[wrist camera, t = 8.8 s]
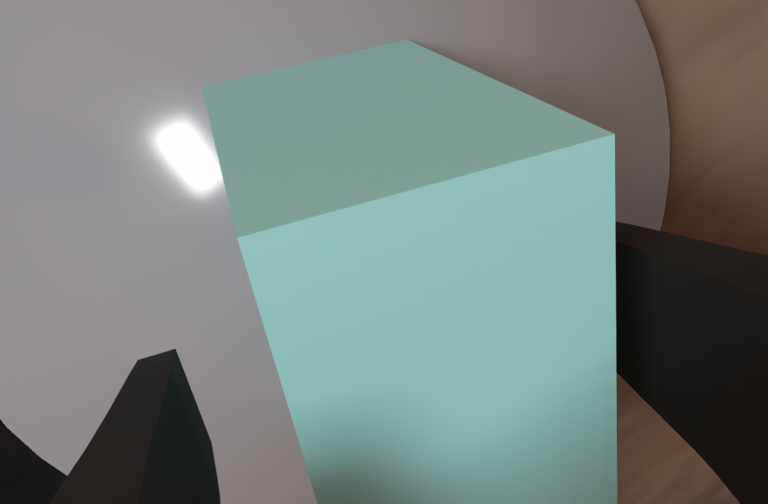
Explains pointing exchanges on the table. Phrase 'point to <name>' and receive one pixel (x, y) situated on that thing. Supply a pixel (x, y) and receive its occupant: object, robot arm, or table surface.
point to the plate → (208, 194)
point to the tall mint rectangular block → (429, 277)
